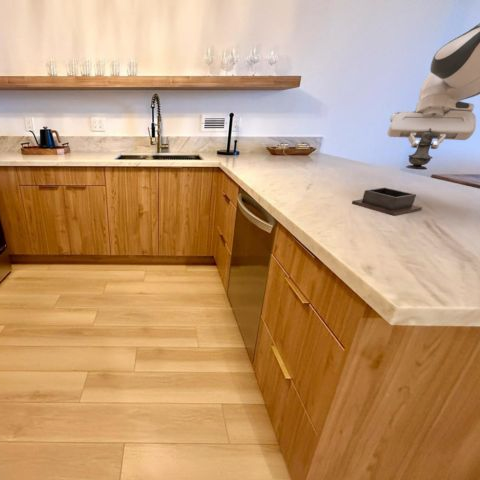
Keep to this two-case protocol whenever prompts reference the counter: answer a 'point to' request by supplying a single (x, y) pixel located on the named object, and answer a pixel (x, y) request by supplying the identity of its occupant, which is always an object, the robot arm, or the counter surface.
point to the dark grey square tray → (388, 201)
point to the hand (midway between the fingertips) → (424, 147)
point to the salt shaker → (422, 152)
